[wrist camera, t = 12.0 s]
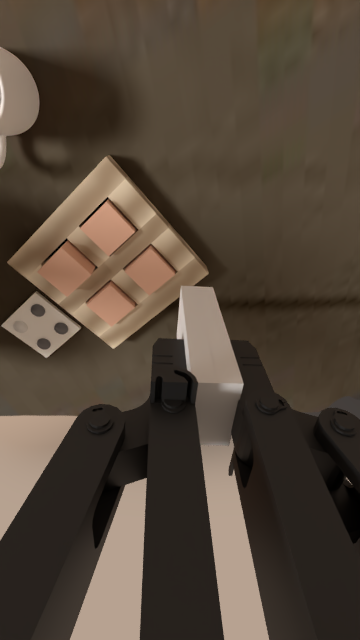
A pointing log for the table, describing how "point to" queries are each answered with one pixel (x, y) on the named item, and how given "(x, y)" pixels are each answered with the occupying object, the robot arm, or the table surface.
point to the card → (41, 325)
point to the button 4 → (150, 269)
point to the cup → (15, 99)
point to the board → (148, 231)
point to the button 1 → (67, 268)
